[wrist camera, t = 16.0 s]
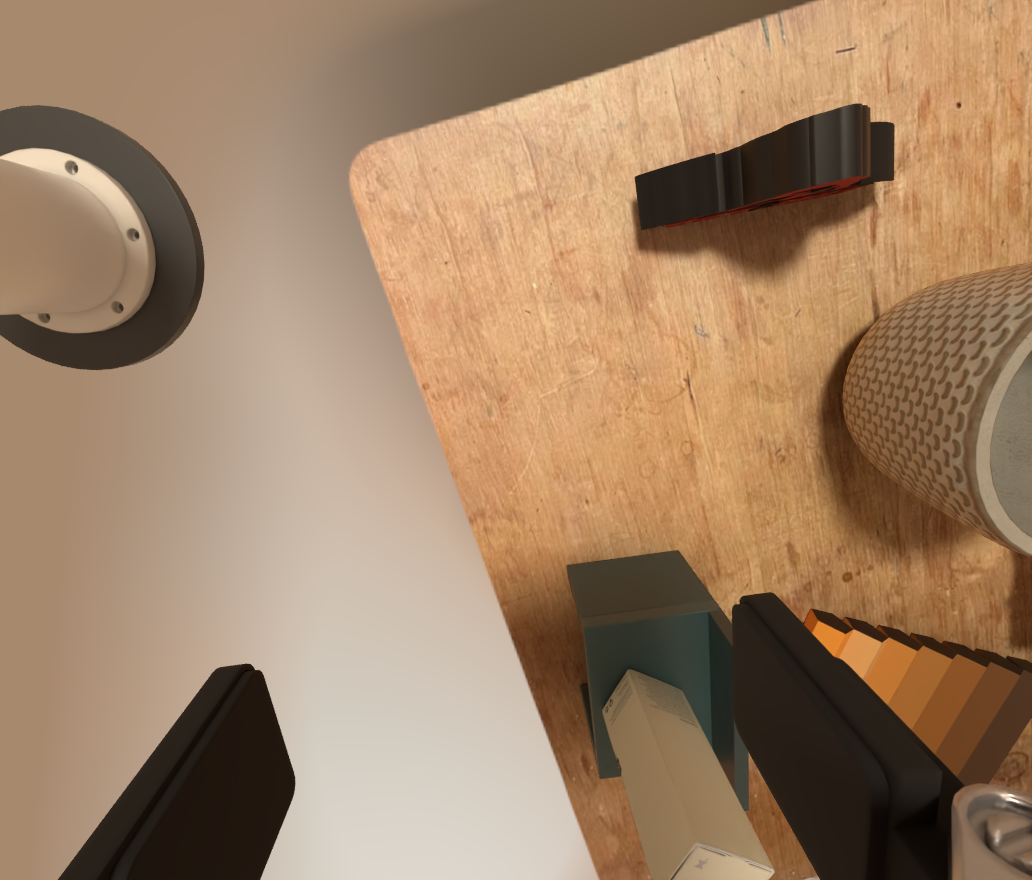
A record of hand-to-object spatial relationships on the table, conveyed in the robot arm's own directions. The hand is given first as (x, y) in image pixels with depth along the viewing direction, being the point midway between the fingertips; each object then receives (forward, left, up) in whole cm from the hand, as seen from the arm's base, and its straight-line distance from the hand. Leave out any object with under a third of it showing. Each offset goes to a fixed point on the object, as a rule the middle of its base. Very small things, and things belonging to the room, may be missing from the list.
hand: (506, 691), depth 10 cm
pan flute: (+32, -40, -32) cm, 61 cm away
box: (+8, -23, -24) cm, 34 cm away
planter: (+33, -3, -32) cm, 46 cm away
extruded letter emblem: (+21, +13, -32) cm, 41 cm away
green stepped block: (+9, -23, -32) cm, 41 cm away
